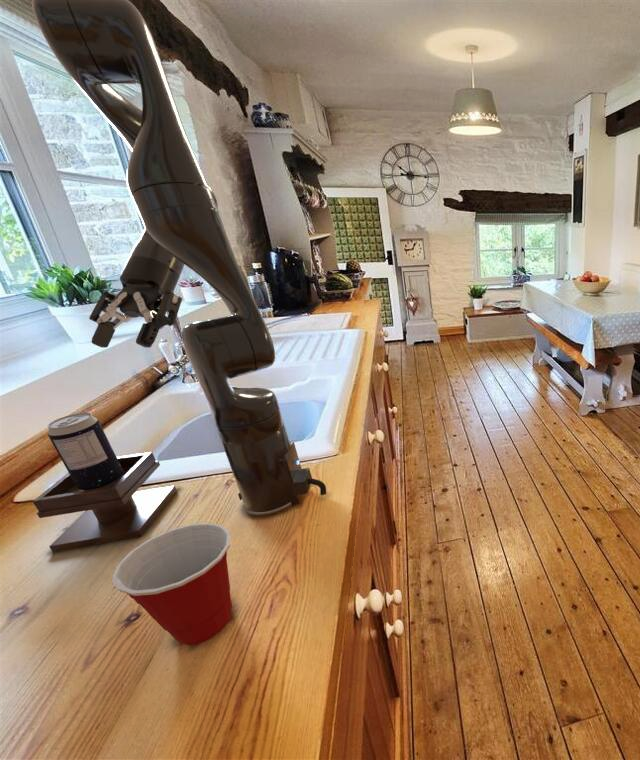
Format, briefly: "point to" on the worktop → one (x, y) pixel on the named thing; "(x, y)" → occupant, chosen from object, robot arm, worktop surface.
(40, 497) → the cup stand
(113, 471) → the beverage can
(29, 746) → the worktop surface
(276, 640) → the worktop surface
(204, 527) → the plastic cup
